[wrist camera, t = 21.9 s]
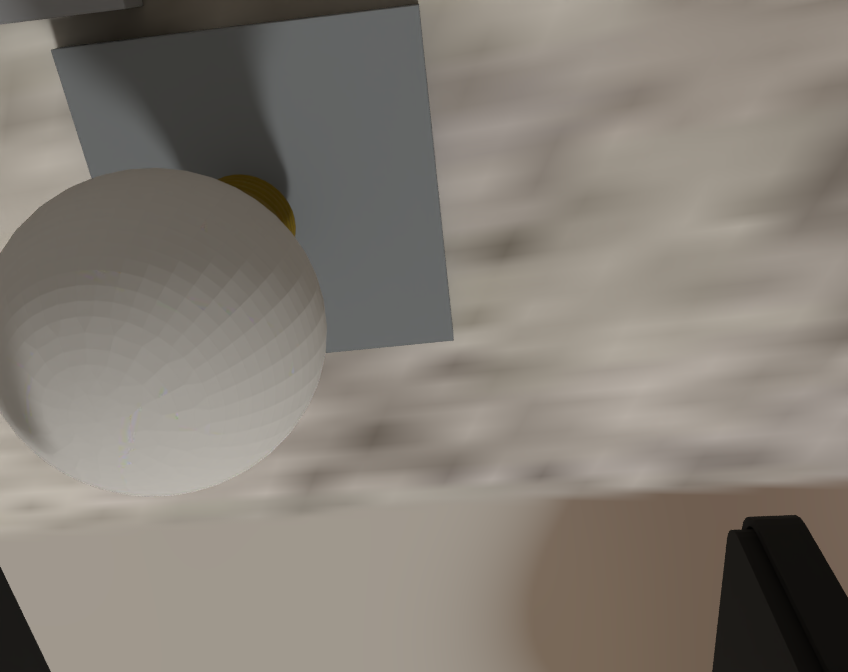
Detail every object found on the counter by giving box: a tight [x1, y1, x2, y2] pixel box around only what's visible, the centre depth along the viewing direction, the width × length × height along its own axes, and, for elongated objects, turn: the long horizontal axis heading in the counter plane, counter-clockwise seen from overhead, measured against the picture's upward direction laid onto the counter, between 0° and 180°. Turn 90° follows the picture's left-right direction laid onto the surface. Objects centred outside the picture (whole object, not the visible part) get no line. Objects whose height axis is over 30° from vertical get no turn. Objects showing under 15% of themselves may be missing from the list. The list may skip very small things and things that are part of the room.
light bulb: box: [0, 168, 327, 496], centre depth 15 cm, size 6×6×10 cm
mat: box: [51, 4, 454, 353], centre depth 20 cm, size 9×9×1 cm
